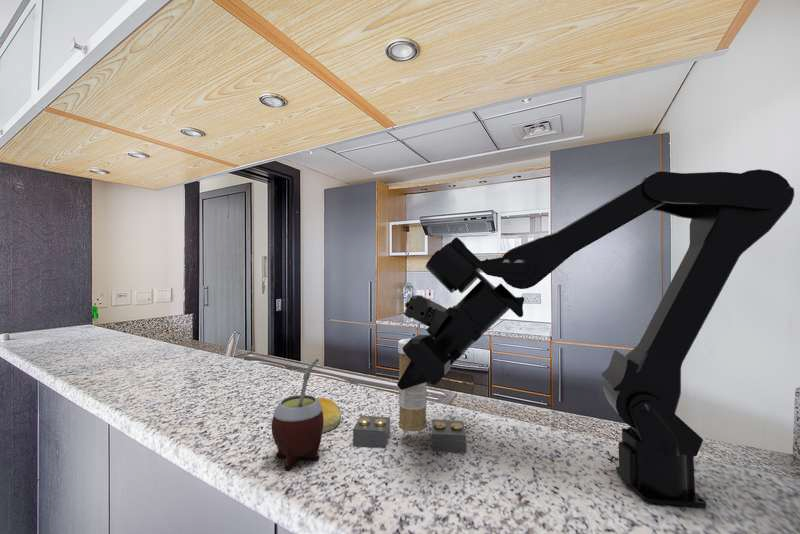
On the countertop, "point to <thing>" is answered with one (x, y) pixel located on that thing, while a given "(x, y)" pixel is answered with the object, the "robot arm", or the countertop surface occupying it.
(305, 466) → the countertop surface
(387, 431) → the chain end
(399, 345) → the sprinkles bottle
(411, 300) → the robot arm
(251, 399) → the countertop surface
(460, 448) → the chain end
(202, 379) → the countertop surface
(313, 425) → the mate gourd
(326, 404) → the bread roll
